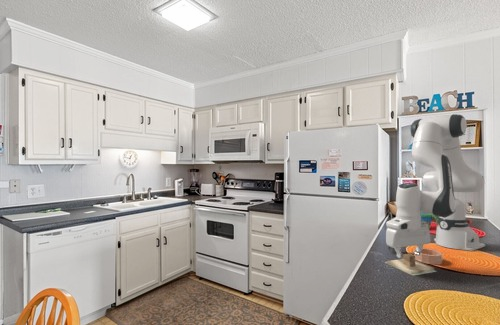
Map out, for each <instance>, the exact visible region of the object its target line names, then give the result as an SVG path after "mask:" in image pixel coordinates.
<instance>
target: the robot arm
mask: <svg viewBox="0 0 500 325" xmlns="http://www.w3.org/2000/svg"><path fill="white" fill-rule="evenodd" d="M467 128H468V124H467V120H466V118H465V117H464V116H463V115H462V114H455V113H454V114H450V115H449V114H447V115H444V114H443V115H435V116H431V117H430V116H429V117H425V118H419V119H415V120H414V121H413V122H412V123H411V125H410V135H411V136H412V138H413V141H412V147H411V156H412V158H413V160H415V162H417V163H418V164H421V165H423V166H425V167H428V168H431V169H434V170H431V171H427V172H425V173H424V175H422V179H421V181H422V185H423V186H424V187H425V189H427V190H428V191H427V190H421V189H420V186H419V184H417V183H414V182H406V183H400V184H399V185H398V186H397V189H396V195H395V206H396V213H395V217H392V218H393V219H391V218H390V220H387V221H386V222H385V225H386V226H387V227H388V228H387V230H386V229H385V243H386V245H387V246H390V247H392V248H394V249H395V251H396V253H397V254H396V257H397V258H398V259H403V254H404V253H403V252H401V250H402V248H404V247H405V248H406V247H413V246H415V249H416V250H415V249H413V255H414V254H415V255H417V256H418V255H421V250H422V248H424V245H429V244H431V233H430V232H431V231H430V229H429V228H428V224H427V223H426V222H424V221H422V222H421V214H420V213H423V214H430V215H434V216H436V217H437V220H438V224H437V225H436V232H435V237H434V238H433V240H434V242H435V244H436V245H438V246H440V247H444V248H448V249H454V250H463V251H476V250H479V249H481V248H484V247H486V244H485V243H483V242H480V238H479V234H478V233H477V232H476V231H475V230H473V229H472V228H471V227H470V226H469V224H472V223H473V220H472V219H468V218H466V217H467V216H466V204H465V202H463V201H462V200H460V199H458V198H456V197H455V194H454V193H477V192H479V191H481V190H482V189H483V188H484V186H485V179H484V177H483V175H482V174H481V173H479V172H478V171H476V170H474V169H472V168H471V167H470V166H469V165H468V164H467V163H466V161H465V160H464V157H463V153H462V149H461V141H460V138H459V137H462V136H463V135H464V134H465V133H466V130H467ZM425 223H426V224H425ZM386 226H385V227H386ZM414 252H415V253H414Z"/></svg>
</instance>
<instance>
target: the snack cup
mask: <svg viewBox="0 0 500 325" xmlns="http://www.w3.org/2000/svg"><path fill="white" fill-rule="evenodd" d="M420 214H421V222H422V221H424V222H426V223H427V224H428V228H429V230H431V226H432V220H433V218H434V219H435V221H436V222H435V226H438V225H439V224H438V217H437V216H435V215H430V214H423V213H420ZM426 223H425V224H426Z"/></svg>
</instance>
